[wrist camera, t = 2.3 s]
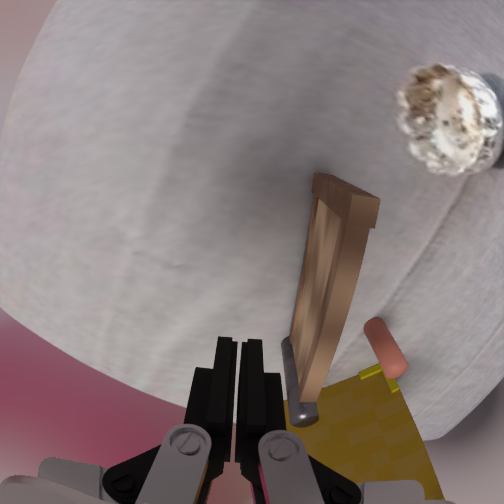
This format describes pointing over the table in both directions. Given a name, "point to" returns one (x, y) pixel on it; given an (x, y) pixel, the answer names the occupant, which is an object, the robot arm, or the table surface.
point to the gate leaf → (328, 276)
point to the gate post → (296, 391)
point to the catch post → (385, 348)
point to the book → (368, 433)
